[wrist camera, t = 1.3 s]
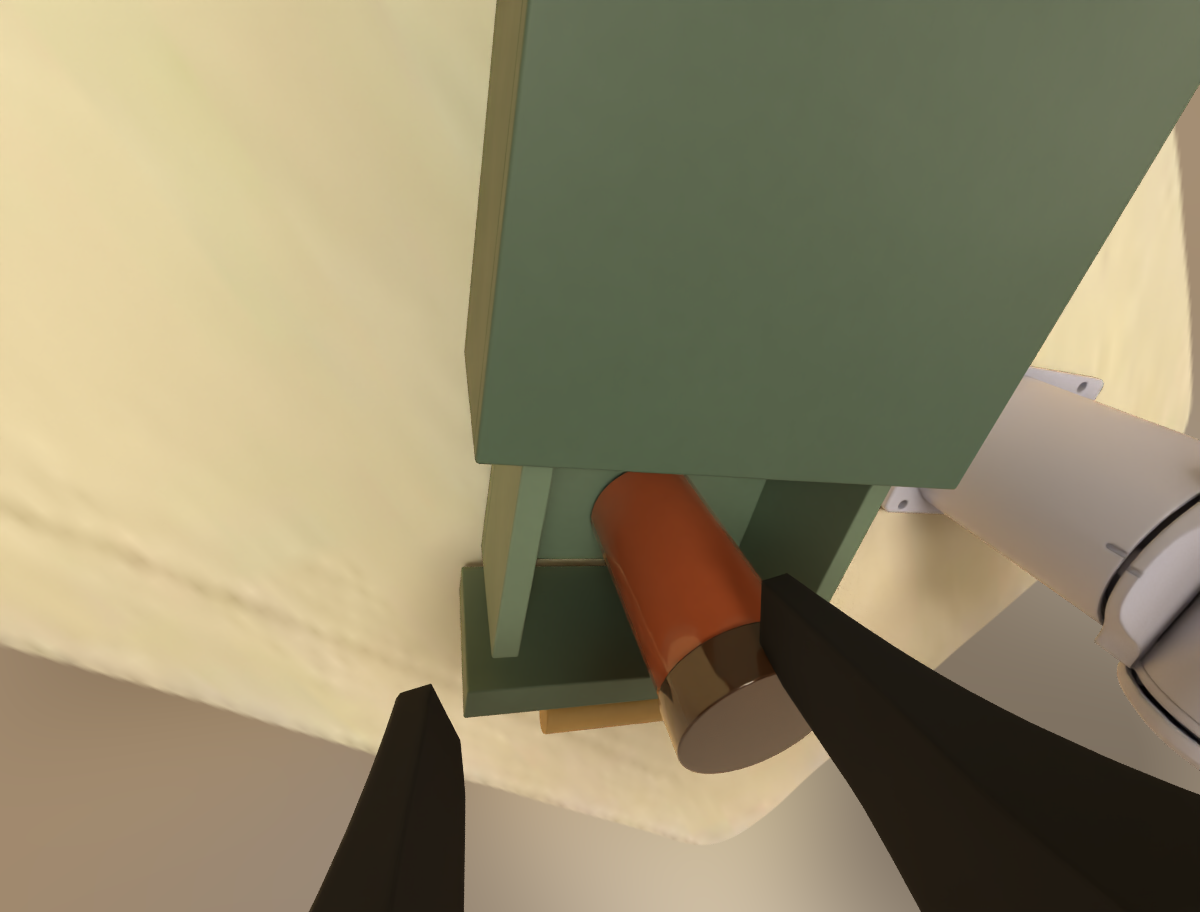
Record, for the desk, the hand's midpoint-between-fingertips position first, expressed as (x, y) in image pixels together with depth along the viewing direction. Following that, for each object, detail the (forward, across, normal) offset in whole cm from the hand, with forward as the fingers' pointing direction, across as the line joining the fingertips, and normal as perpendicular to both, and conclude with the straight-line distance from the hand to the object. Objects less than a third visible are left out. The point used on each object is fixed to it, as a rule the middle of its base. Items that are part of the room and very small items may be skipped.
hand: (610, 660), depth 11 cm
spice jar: (+8, -3, +3) cm, 9 cm away
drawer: (+9, -3, +4) cm, 10 cm away
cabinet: (+10, -7, -7) cm, 14 cm away
